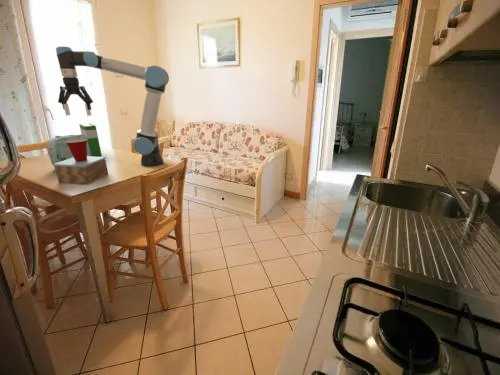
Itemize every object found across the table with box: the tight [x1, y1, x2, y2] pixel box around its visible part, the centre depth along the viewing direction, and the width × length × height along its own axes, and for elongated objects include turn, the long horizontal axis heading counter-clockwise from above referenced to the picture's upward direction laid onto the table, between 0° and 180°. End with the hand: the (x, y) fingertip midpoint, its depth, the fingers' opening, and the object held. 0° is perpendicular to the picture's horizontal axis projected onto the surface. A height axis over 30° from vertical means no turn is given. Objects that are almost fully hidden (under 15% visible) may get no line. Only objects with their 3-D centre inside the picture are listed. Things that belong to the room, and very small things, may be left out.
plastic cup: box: [65, 139, 87, 162], centre depth 147 cm, size 11×11×12 cm
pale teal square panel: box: [52, 156, 107, 167], centre depth 150 cm, size 19×18×1 cm
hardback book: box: [79, 122, 103, 157], centre depth 204 cm, size 18×7×24 cm, turn 43°
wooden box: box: [53, 159, 109, 186], centre depth 152 cm, size 18×18×10 cm
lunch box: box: [45, 133, 91, 166], centre depth 177 cm, size 27×10×21 cm, turn 168°
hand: (78, 115), depth 156 cm, fingers open, 13 cm apart
